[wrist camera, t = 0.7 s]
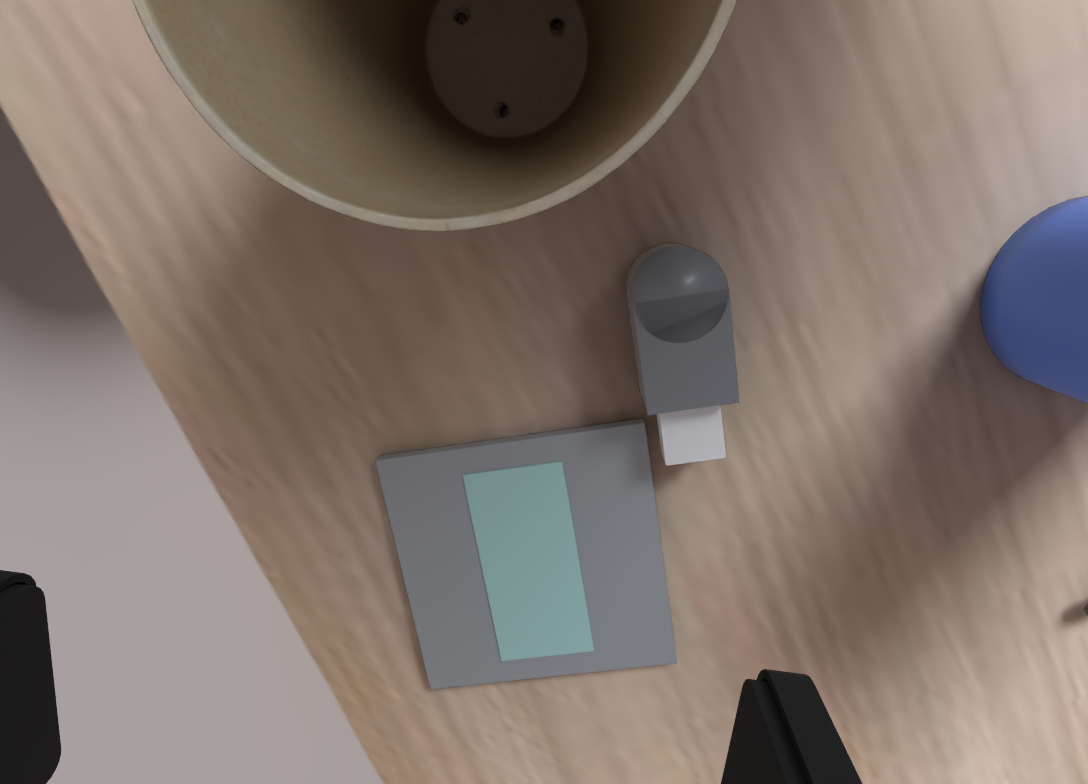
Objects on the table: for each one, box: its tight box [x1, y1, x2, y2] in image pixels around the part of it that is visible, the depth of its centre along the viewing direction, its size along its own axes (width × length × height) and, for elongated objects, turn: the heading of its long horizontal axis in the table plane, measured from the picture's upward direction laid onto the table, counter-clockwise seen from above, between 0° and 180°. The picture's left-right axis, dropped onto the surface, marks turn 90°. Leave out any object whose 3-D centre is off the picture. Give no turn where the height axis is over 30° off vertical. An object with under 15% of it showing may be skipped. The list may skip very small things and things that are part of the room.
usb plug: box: [626, 243, 739, 466], centre depth 31 cm, size 10×4×4 cm, turn 9°
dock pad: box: [375, 418, 677, 689], centre depth 36 cm, size 14×14×1 cm
